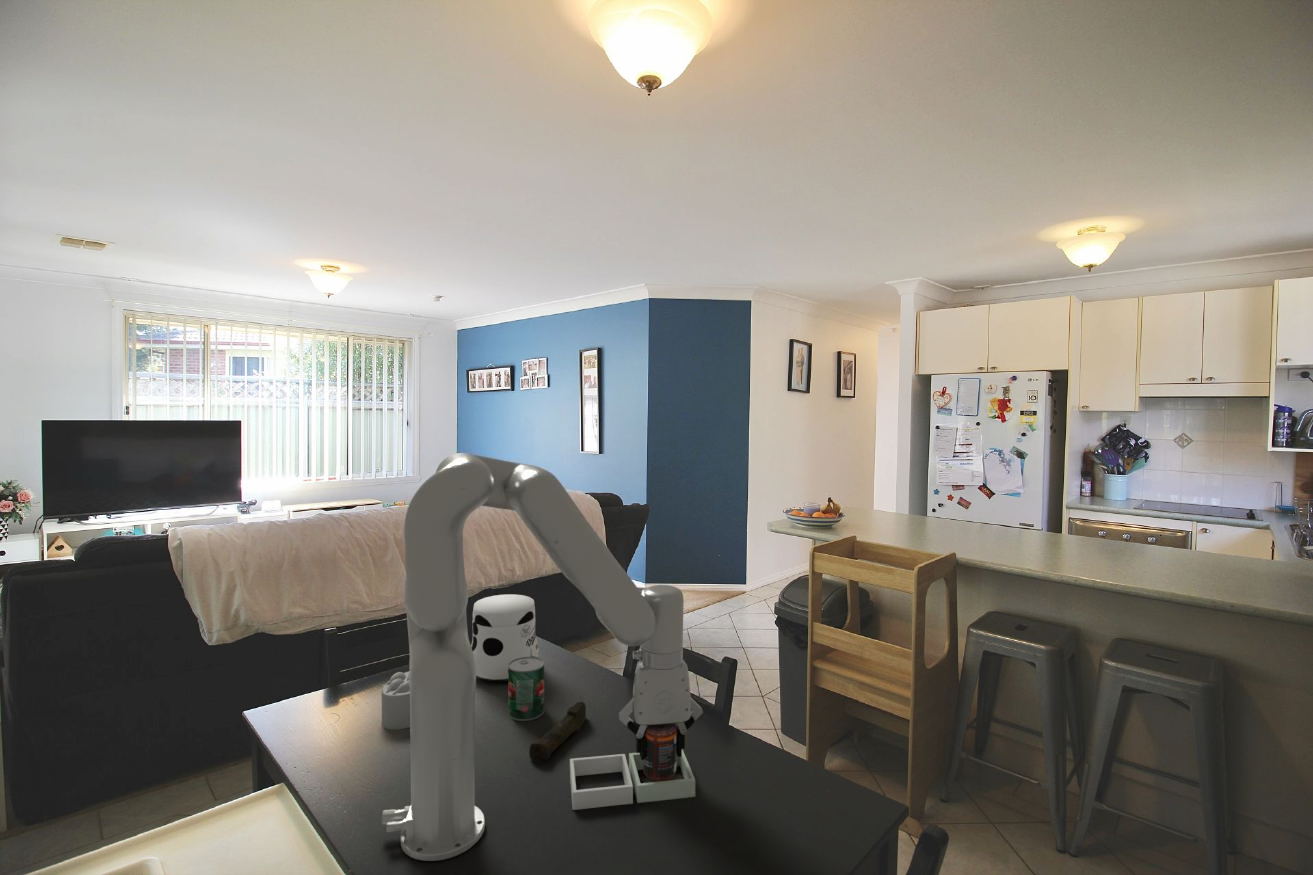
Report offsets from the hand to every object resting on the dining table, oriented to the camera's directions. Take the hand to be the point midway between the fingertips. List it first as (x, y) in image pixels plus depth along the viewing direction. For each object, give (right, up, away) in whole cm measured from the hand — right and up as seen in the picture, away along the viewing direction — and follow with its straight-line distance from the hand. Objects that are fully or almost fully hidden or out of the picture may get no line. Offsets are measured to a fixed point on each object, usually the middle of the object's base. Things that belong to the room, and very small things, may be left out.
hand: (660, 753), depth 112 cm
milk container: (-40, -3, +46) cm, 61 cm away
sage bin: (0, -5, 0) cm, 5 cm away
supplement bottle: (0, -4, 0) cm, 4 cm away
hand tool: (-20, -5, +15) cm, 26 cm away
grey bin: (-11, -5, -2) cm, 12 cm away
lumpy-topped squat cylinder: (-55, -4, +24) cm, 60 cm away
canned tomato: (-30, -4, +26) cm, 39 cm away
